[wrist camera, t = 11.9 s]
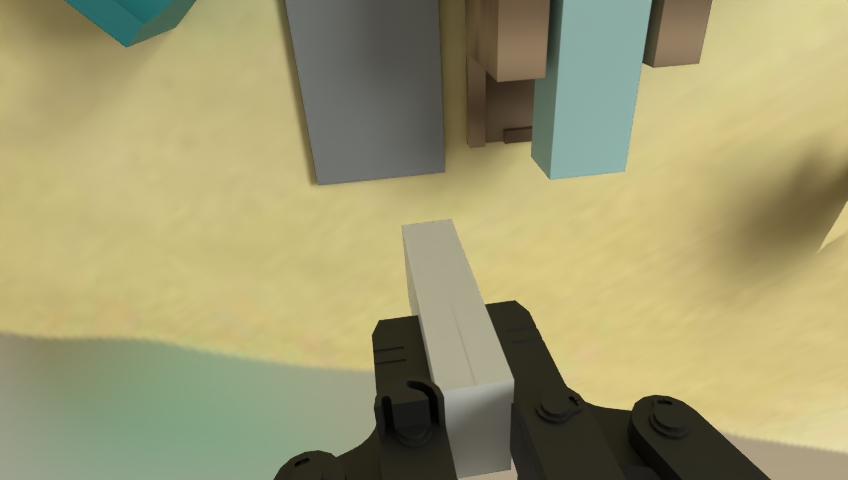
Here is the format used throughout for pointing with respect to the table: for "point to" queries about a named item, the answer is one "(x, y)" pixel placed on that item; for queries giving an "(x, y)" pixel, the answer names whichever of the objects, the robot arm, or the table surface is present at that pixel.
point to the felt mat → (370, 86)
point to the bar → (588, 86)
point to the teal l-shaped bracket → (133, 17)
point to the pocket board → (526, 58)
